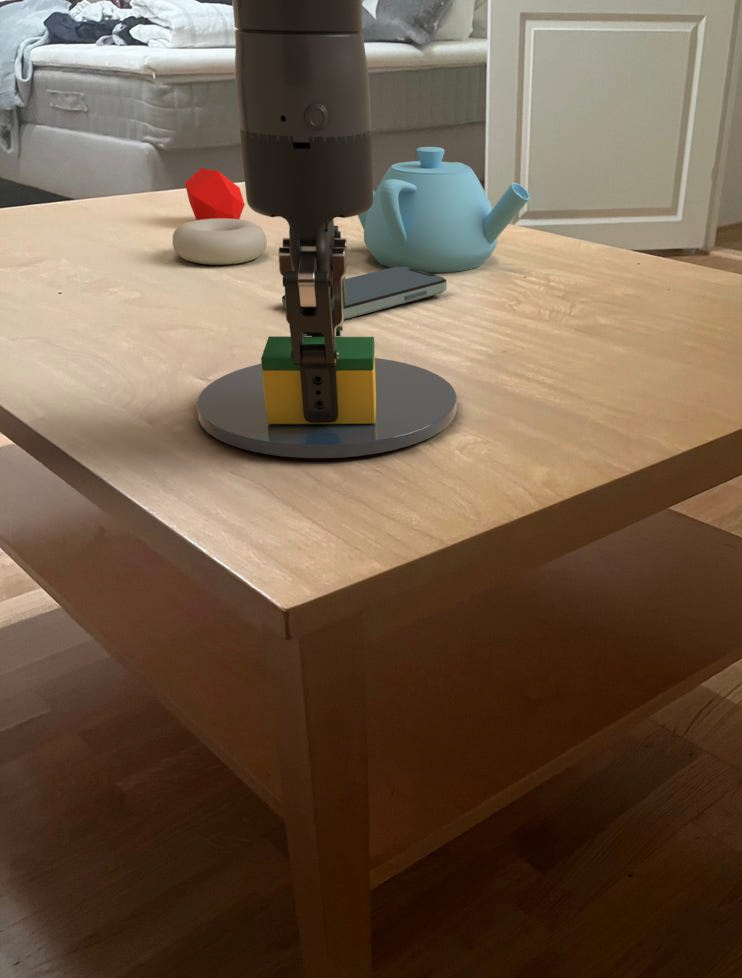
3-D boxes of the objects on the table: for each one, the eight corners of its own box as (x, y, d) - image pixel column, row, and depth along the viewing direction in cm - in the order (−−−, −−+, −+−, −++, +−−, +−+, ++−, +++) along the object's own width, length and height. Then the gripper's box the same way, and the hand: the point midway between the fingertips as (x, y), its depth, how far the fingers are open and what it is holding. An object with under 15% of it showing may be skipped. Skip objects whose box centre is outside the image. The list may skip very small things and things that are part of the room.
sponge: (267, 424, 65) (260, 357, 63) (273, 399, 69) (268, 336, 67) (375, 424, 66) (372, 358, 63) (376, 399, 70) (374, 336, 67)
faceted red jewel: (256, 179, 120) (217, 146, 123) (207, 196, 117) (169, 162, 119) (259, 230, 126) (221, 197, 128) (212, 248, 122) (175, 214, 125)
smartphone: (276, 293, 92) (400, 263, 101) (278, 312, 93) (401, 280, 102) (325, 311, 88) (451, 278, 96) (327, 330, 89) (451, 295, 97)
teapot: (394, 285, 101) (391, 162, 95) (340, 249, 114) (335, 140, 108) (530, 273, 106) (536, 156, 100) (464, 240, 119) (466, 135, 113)
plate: (177, 464, 63) (174, 446, 62) (218, 370, 78) (216, 355, 77) (464, 461, 64) (464, 444, 63) (450, 370, 79) (450, 355, 78)
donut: (287, 256, 111) (219, 242, 115) (285, 223, 109) (216, 210, 113) (224, 274, 104) (153, 259, 108) (220, 239, 102) (149, 225, 106)
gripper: (253, 107, 64) (277, 371, 73) (221, 137, 52) (254, 448, 61) (372, 109, 64) (381, 371, 73) (368, 139, 52) (378, 447, 61)
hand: (323, 405), depth 67 cm, fingers closed on sponge, 4 cm apart
